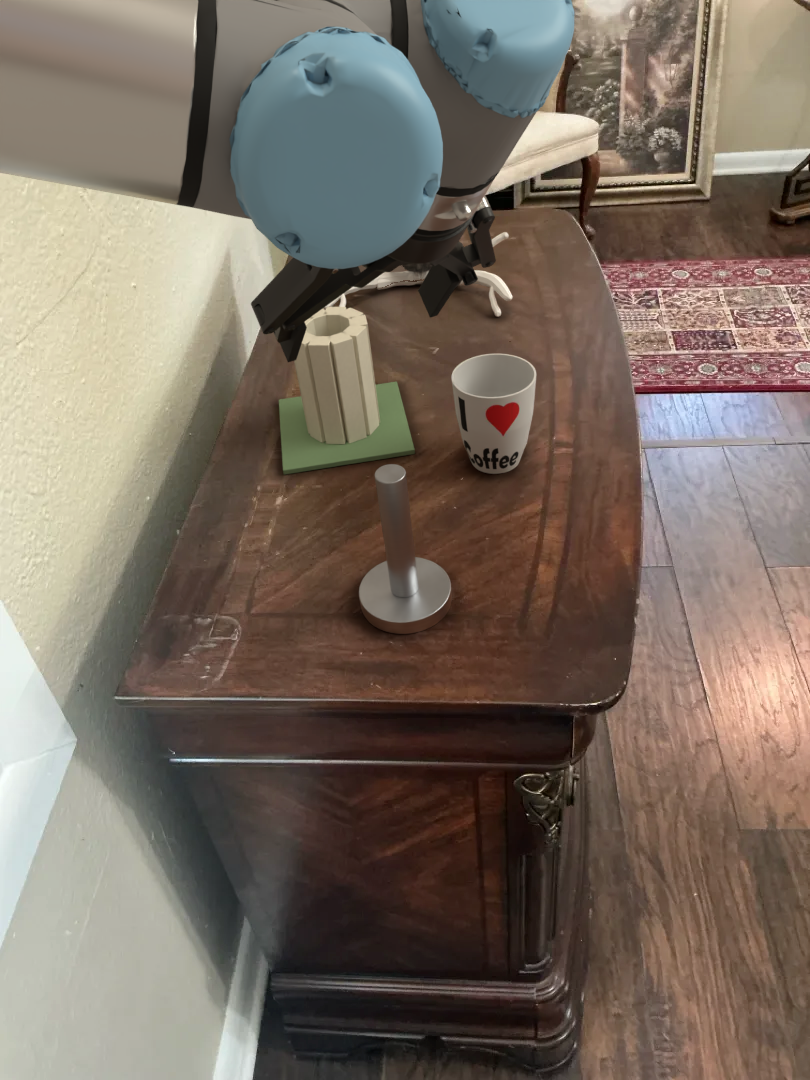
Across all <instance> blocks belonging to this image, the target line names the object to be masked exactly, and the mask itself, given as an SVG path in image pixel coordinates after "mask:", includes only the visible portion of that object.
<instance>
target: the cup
mask: <svg viewBox="0 0 810 1080" xmlns="http://www.w3.org/2000/svg"><path fill="white" fill-rule="evenodd" d="M536 385H537V370H536V368H535V366H534V365H533V364H532V363H531V362H529V360H527V359H525V358H522V357H520V356H517V355H513V354H508V353H486V354H479V355H476V356H472V357H471V358H468V359H465V360H463V361H462V362H460V363H459V364H458V365H456V367H454V369H453V370H452V374H451V386H452V394H453V402H454V411H455V416H456V417H455V418H456V420H457V424H458V428H459V431H460V436H461V440H462V444H463V446H464V449H465V452H466V453H467V456H468V458H469V460H470V462H471V464H472V466H473V468H475V470H478V471H480V472H482V473H486V474H489V475H490V474H492V475H497V474H505V473H507V472H510V471H512V470H514V469H516V467H518V466H519V464H520V461H521V459H522V456H523V454H524V451H525V448H526V446H527V444H528V439H529V434H530V431H531V425H532V420H533V416H534V409H535V408H534V407H535V397H536V396H535V395H536Z"/></svg>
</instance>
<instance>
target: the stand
mask: <svg viewBox="0 0 810 1080" xmlns="http://www.w3.org/2000/svg"><path fill="white" fill-rule="evenodd" d="M407 480H408V479H407V471H406V469H405V468H404V467H403V466H401V465H400V464H395V463H388V464H384V465H381V466H380V467H378V468H377V469H376V470H375V472H374V481H375V488H376V495H377V502H378V509H379V517H380V524H381V530H382V537H383V544H384V551H385V558H386V560H384V561H382V562H380V563H379V564H377V565H375V566H373V567H372V568H370V570H369V571H368V572H367V573H366V574H365V575H364V576H363V578H362V580H361V581H360V584H359V587H358V599H359V604H360V610H361V612H362V614H363V617H364V618H365V619H366V621H367V622H368V623H370V624H371V625H372V626H373V627H375V628H376V629H378V630H381V631H382V632H386V633H390V634H396V635H409V634H415V633H419V632H422V631H425V630H428V629H430V628H432V627H433V626H435V625H437V624H438V623H439V622H440V621H442V620H443V619H444V618H445V617H446V615H447V614H448V612H449V610H450V608H451V606H452V601H453V593H452V583H451V579H450V576H449V575H448V573H447V572H446V571H445V569H444V568H443V567H442V566H441V565H439V564H437V563H436V562H434V561H432V560H431V559H427V558H423V557H419V556H416V551H415V544H414V542H415V541H414V535H413V523H412V517H411V515H412V514H411V508H410V507H411V506H410V499H409V489H408V481H407Z"/></svg>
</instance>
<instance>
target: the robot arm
mask: <svg viewBox="0 0 810 1080" xmlns="http://www.w3.org/2000/svg"><path fill="white" fill-rule="evenodd" d="M574 33H575V10H574V5H573V2H572V0H0V174H5V175H10V176H16V177H22V178H26V179H33V180H37V181H43V182H49V183H54V184H61V185H64V186H70V187H76V188H82V189H87V190H94V191H99V192H104V193H110V194H113V195H114V194H115V195H121V196H126V197H132V198H138V199H144V200H147V201H154V202H159V203H164V204H169V205H174V206H175V205H176V206H182V207H186V208H193V209H198V210H201V211H208V212H212V213H216V214H222V215H225V216H231V217H236V218H242V219H246V220H247V219H248V220H251V222H252V223H253V226H254V227H255V228H256V229H257V230H258V232H260V233H261V234H262V235H263V236H264V237H265V238H266V239H268V241H269V242H271V243H272V245H274V246H275V248H276V249H278V250H280V251H281V252H283V253H285V254H286V255H288V256H290V257H292V258H291V259H290V261H288V262H287V263H286V265H285V266H284V267H283V268H282V269H281V270H280V271H279V272H278V273H277V274H276V275H275V276H274V278H273V279H272V280H271V281H270V282H269V283H268V284H267V285H266V286H265V287H264V288H263V289H262V290H261V291H260V292H259V294H258V295H257V296H256V297H255V298H254V299H253V300H252V301H251V303H250V306H251V308H252V310H253V313H254V316H255V318H256V321H257V322H258V325H259V327H260V329H261V332H262V334H263V335H271V334H273V335H274V337H275V340H276V341H277V343H278V344H279V345H280V347H281V349H282V352H283V355H284V357H285V360H286V361H287V363H290V362H294V361H295V360H296V359H297V356H298V353H299V350H300V347H301V344H302V341H303V338H304V335H305V332H306V329H307V327H306V324H305V321H306V320H308V319H309V318H310V317H312V316H313V315H314V314H316V313H317V312H319V311H320V310H321V309H323V308H324V307H326V306H327V305H328V304H330V303H331V302H332V301H334V300H335V299H337V298H338V297H339V296H341V295H342V294H344V293H345V292H346V291H348V290H349V289H350V288H352V287H358V288H363V287H364V286H366V285H367V284H369V283H370V282H371V281H373V280H374V279H376V278H377V277H378V276H380V275H381V274H383V273H384V272H394V271H395V270H396V269H397V268H398V267H402V265H407V264H410V263H411V264H424V263H430V264H432V267H431V269H430V270H429V272H428V274H427V276H426V277H425V279H424V281H423V283H422V284H420V286H419V288H418V290H417V292H418V293H419V296H420V298H421V300H422V303H423V305H424V308H425V310H426V312H427V314H428V317H429V318H430V319H431V318H433V317H437V316H438V315H439V314H440V312H441V311H442V309H443V308H444V307H445V304H446V303H447V302H448V300H449V299H450V297H451V295H452V294H453V292H454V291H455V290H456V288H458V286H460V285H459V284H460V283H461V281H462V280H463V282H464V285H463V286H465V287H468V286H470V285H474V284H473V283H475V282H476V281H477V280H478V278H477V275H476V273H475V271H474V270H475V269H474V267H476V266H478V265H480V266H481V267H482V269H485V268H486V269H487V268H489V267H491V266H493V265H495V263H496V262H497V259H496V255H495V250H494V247H493V245H492V236H491V231H490V230H491V228H492V225H493V224H494V221H495V219H496V215H495V213H494V212H493V209H492V207H491V204H490V203H489V200H488V198H487V195H486V194H487V193H488V191H489V189H490V188H491V185H492V184H493V182H494V181H495V179H496V178H497V176H498V175H499V173H500V171H501V170H502V168H503V167H504V165H505V164H506V162H507V160H508V159H509V157H510V156H511V154H512V152H513V151H514V149H515V147H516V146H517V144H518V143H519V141H520V139H521V137H523V134H524V133H525V132H526V130H527V128H528V127H529V126H530V123H531V122H532V120H533V118H534V117H535V115H536V114H537V112H539V110H540V109H541V108H543V107H544V105H545V104H546V102H547V99H548V97H549V95H550V92H551V89H552V88H553V87H552V86H553V84H554V83H555V81H556V79H557V77H558V74H559V73H560V71H561V69H562V66H563V64H564V62H565V59H566V56H567V54H568V52H569V49H570V48H571V45H572V41H573V37H574ZM466 231H467V234H468V237H469V241H470V244H468V245H466V246H464V245H463V243H462V242H461V238H462V237H463V235H464V233H465V232H466ZM360 266H362V267H363V268H365V269H363V270H362V271H361V269H360Z"/></svg>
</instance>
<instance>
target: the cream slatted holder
mask: <svg viewBox="0 0 810 1080" xmlns="http://www.w3.org/2000/svg"><path fill="white" fill-rule="evenodd" d="M305 324H306V327H307V329H306V332H305V335H304V338H303V341H302V344H301V347H300V350H299V353H298V356H297V359H296V360H295V361H293V362H294V368H295V374H296V378H297V383H298V388H299V393H300V396H301V399H302V404H303V409H304V414H305V419H306V424H307V429H308V433H309V434H310V436H311V437H313V438H315V439H316V440H318V441H320V442H322V443H323V442H325V441H326V444H345V442H346V440H347V441H348V443H349V444H350V443H353V442H355V441H358V440H361V439H364V438H366V437H367V436H366V435H371V434H372V433H373V432H374V431H375V429H376V428H377V427H378V426H379V423H380V416H379V408H378V401H377V393H376V385H377V384H376V378H375V370H374V363H373V355H372V349H371V347H372V346H371V341H370V332H369V325H368V320H367V316H366V314H364V312H362V311H359V310H357V309H355V308H353V307H348V308H347V307H346V306H345V307H339V306H331V307H327V308H326V309H321V310H320V311H319V312H317V313H316V314H314V315H313V316H312V317H310V318H309V319H308V320H306V321H305Z"/></svg>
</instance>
